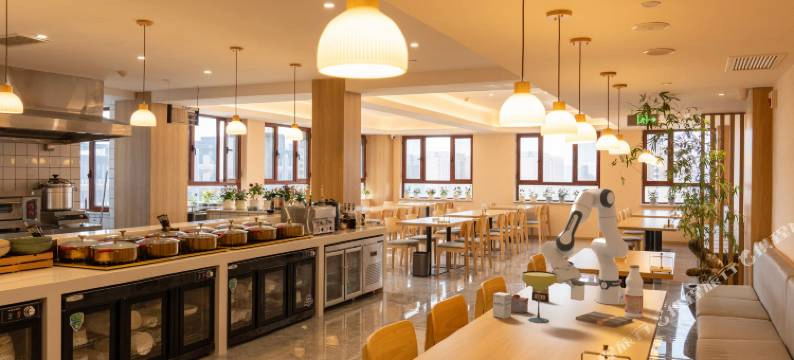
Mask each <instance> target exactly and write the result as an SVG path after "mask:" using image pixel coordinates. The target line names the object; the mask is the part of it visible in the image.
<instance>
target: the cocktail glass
mask: <svg viewBox="0 0 794 360" xmlns="http://www.w3.org/2000/svg"><path fill="white" fill-rule="evenodd" d="M521 279H522V281H523V283H525V284H527V285H528V286H530V287H531V288H532V287H533V288H534V289H535V290H536V291H537V292H538V301H537V315H536V317H529V318H527V320H528V321H529V322H530V323H537V324H546V323H549V322H550V321H549V319H547V318H544V317H541V315H540V313H541V312H540V301H539V295H540V292H541V291H542V290H543V289H544V288H546V287H548V288H549V287H551V286H553V285H554V284H555V283H556V282H557V275H556V274H555V273H553V272H551V271H545V270H528V271H527V270H526V271H523V272H521Z"/></svg>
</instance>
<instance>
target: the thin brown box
mask: <svg viewBox="0 0 794 360" xmlns="http://www.w3.org/2000/svg"><path fill="white" fill-rule="evenodd" d="M531 288H532V289H531V290H532V291H531V301H536V302H538V292H537V291H536V290H535V289H534V288H533V287H531ZM549 290H550V289H549V287H546V288H544V289H543V290H542V291H541V292H540V295H539V302H542V303H543V302H544V303H549V302H550V293H549Z"/></svg>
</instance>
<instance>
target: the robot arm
mask: <svg viewBox="0 0 794 360" xmlns="http://www.w3.org/2000/svg"><path fill="white" fill-rule="evenodd" d="M615 197H616V196H615V193H614V192H613V191H612V190H611V189H608V188H586V189H583V190H581V191H580V192H579V193H578V194H577V195H576V197H575V199H574V201H573V203H572V205H571V208H570V211H569V215H568V216H569V217H568V219H567V222H566V224H565V227H564V228H563V230H562V232H560V233H559V234H558V235H557V236H556V239H555V241H549V240H547V241H546V242H545V243H543V245H542V246H541V248H540V253H541V254H542V256H543V258H544V260H546V262H547V263H548V264H549V265H550V267H551V268H552V270H551V271H552V273H555V274H556V275H557V280H556V282H558V284H566V285H568V286H569V287H570V289H571V288H574V287H575V285H574V284H572V283H571V281H574V280H576V281H580V279H581V278H582V273H581V272H580V271H579V269H578V268H577V267H576V266H575V263H574V262H573V261H569V260H567V259H566V258H568V257H571V256H572V255H573V254H574V251H575V239H576V238H575V234H576V233H577V230H578V228H579V225H580V224H583V223H585V222H587V220H588V219H589V217H590V215H591V212H592V210H593V208H596V217H597V227H598V230H599V232H600V233H601V234H602V236H603V237H596V238H594V239H593V240H592V241H591V244H590V248H591V251H592V252H593V253H594V254H595V257H596V258H597V262H598V266H599V268H598V269H599V270H598V271H599V272H598V273H599V275H598V276H599V277H598V281H597V282H598V285H597V287H596V291H595V297H594V298H593V301H595V302H596V303H599V304H604V305H611V306H612V305H619V306H620V305H621V306H623V305H624V306H625V290H624V288H622V287H621V283H622V279H619V273H620V271H619V268H620V267H619V266H618V264H617V263H616V262H615V259H614V258H616V259H618V258H625V257H627V256H628V254H629V245H628V243H627V242H625V240H624V239H623V238H622V236H621V233H620V230H619V228H618V227H619V226H618V218H617V210H616V205H615V201H616V200H615Z"/></svg>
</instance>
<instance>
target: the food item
mask: <svg viewBox="0 0 794 360" xmlns="http://www.w3.org/2000/svg"><path fill="white" fill-rule="evenodd" d="M528 303H529V297H521V294H517V293H515V294H514V295H511V313H517V312H518V314H519V313H520V314H525V313H527V312H528V310H529V309H528V308H529V307H528V305H529V304H528Z"/></svg>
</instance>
